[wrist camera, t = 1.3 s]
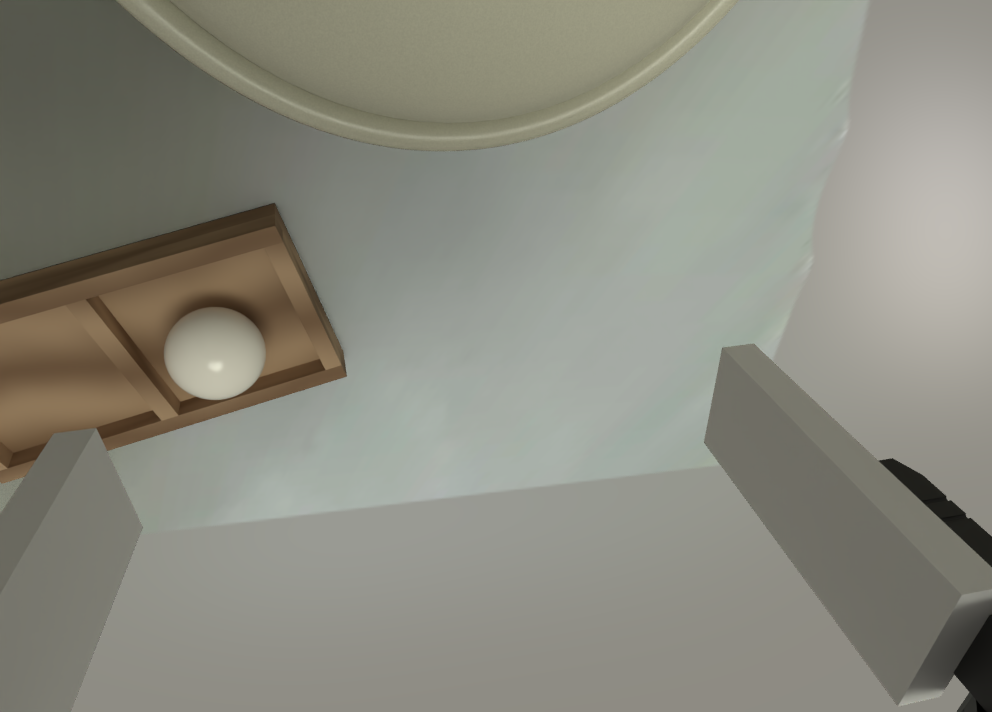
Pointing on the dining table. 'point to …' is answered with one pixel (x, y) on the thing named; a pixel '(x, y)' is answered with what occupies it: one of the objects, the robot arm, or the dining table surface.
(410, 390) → the dining table surface
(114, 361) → the tray
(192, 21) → the canister
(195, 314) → the egg
